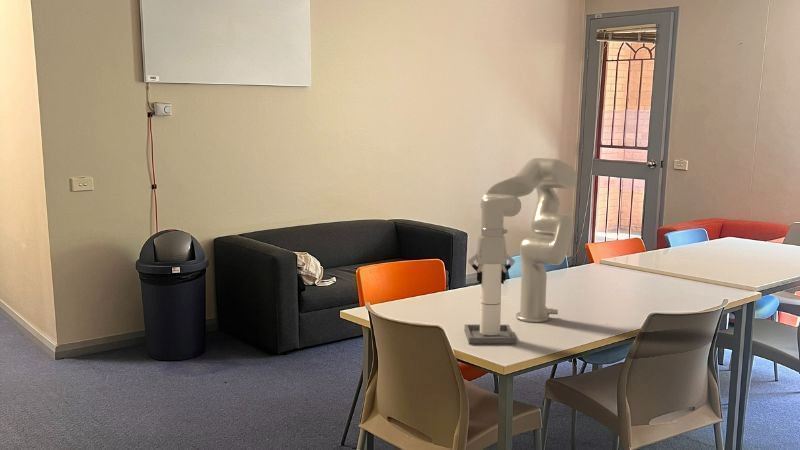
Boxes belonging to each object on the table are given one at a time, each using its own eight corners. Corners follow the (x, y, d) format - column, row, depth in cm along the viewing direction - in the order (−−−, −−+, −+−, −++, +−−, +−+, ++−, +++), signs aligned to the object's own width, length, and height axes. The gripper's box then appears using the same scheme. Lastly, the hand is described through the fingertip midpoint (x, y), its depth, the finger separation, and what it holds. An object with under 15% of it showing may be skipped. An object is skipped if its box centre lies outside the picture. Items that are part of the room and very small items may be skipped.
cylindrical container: (498, 328, 267) (500, 260, 263) (501, 335, 260) (503, 264, 256) (478, 329, 267) (479, 260, 263) (481, 335, 260) (482, 264, 256)
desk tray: (508, 331, 272) (508, 324, 271) (515, 344, 256) (515, 337, 256) (464, 330, 271) (464, 324, 271) (469, 344, 256) (469, 337, 255)
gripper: (515, 231, 262) (514, 280, 265) (465, 231, 262) (465, 280, 264) (519, 234, 254) (517, 285, 257) (468, 234, 254) (467, 285, 257)
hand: (491, 282), depth 261 cm, fingers closed on cylindrical container, 7 cm apart
